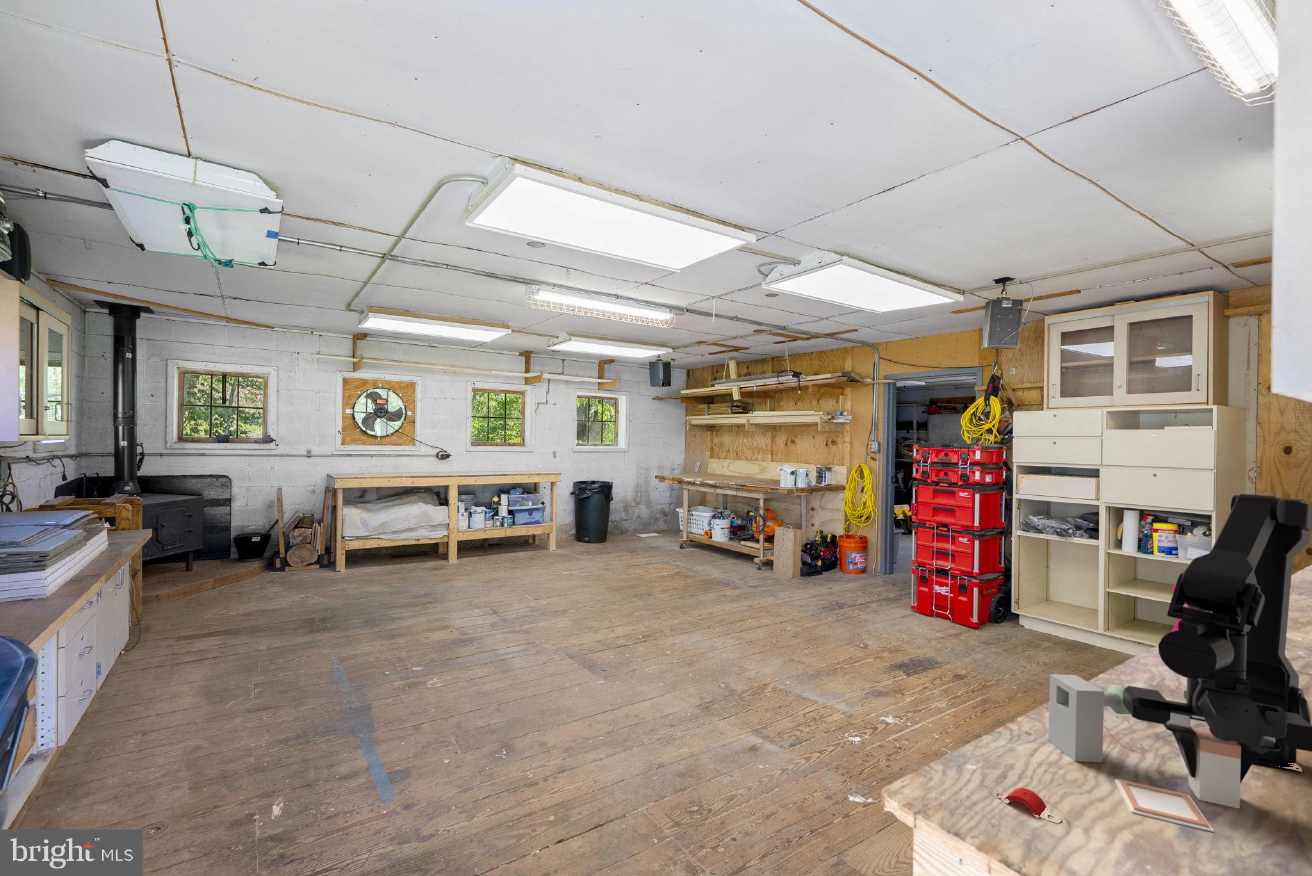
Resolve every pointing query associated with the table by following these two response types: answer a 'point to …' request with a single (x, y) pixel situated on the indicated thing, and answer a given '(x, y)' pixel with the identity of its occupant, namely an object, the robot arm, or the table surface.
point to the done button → (1115, 699)
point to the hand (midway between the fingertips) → (1213, 780)
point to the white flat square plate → (1162, 804)
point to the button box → (1076, 717)
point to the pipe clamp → (1028, 800)
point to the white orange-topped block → (1216, 769)
